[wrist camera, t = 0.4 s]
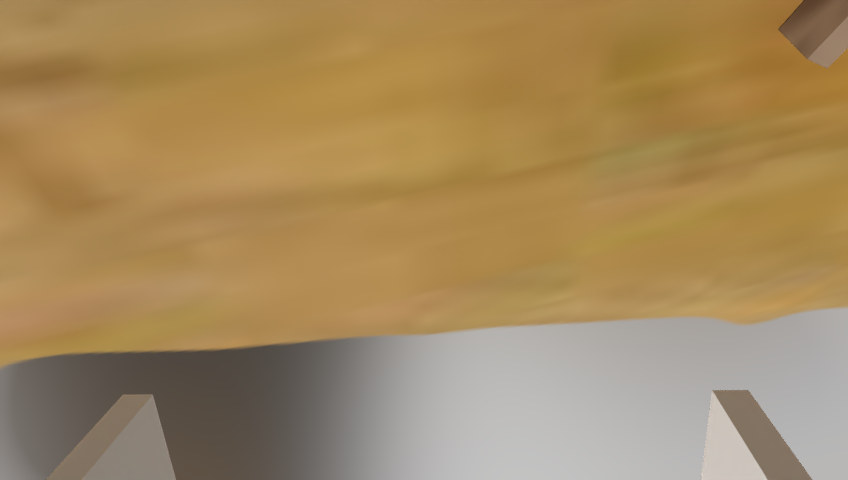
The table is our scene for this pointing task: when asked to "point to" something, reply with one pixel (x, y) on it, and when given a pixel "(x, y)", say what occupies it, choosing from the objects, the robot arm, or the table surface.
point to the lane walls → (819, 30)
